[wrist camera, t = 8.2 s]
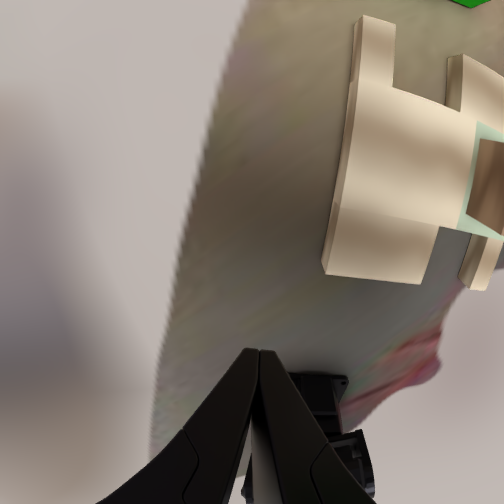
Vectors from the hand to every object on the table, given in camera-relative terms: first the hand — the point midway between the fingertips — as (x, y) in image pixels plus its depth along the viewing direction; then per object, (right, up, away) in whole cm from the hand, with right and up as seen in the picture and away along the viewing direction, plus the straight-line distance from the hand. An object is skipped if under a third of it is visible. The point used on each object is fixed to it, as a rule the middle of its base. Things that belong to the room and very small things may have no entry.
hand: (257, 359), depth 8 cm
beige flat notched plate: (+12, +9, +8) cm, 17 cm away
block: (+17, +8, +7) cm, 19 cm away
